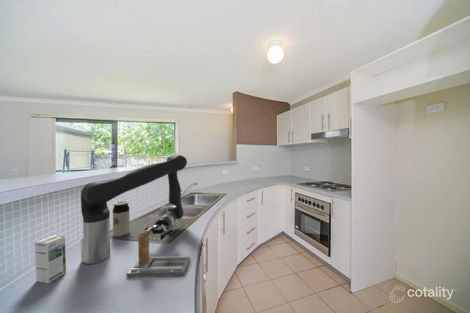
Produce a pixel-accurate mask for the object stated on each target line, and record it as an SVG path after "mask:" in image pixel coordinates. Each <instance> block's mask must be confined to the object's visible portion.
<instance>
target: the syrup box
mask: <svg viewBox="0 0 470 313" xmlns="http://www.w3.org/2000/svg"><path fill="white" fill-rule="evenodd" d="M34 251H35V252H34V253H35V278H36V280H35V281H36V282H38V281H39V282H38V283H42V282H45V283H44V284H50V283H51V282H53V281H55V280H56V279H58V278H60V277H62V276H63V275H65V274H66V273H67V266H66V265H67V264H66V263H67V262H66V261H67V260H66V237H65V236H64V235H59V234H56V235H55V234H54V235H51V236H48V237H45V238H43V239H40V240H37V241H35V242H34Z"/></svg>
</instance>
